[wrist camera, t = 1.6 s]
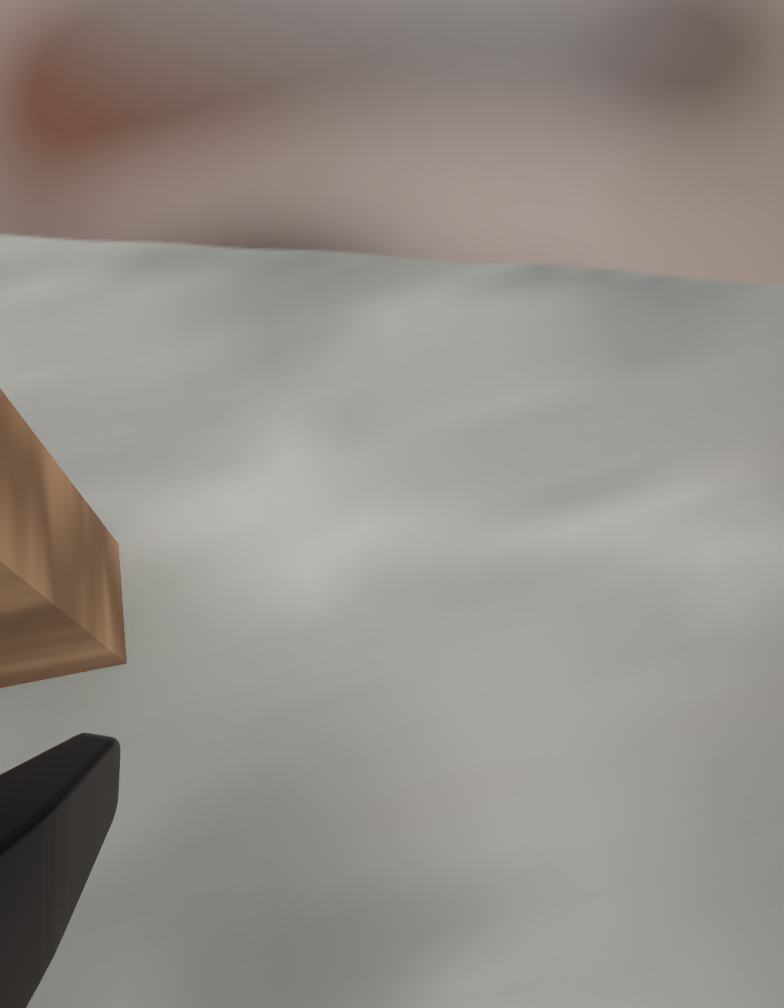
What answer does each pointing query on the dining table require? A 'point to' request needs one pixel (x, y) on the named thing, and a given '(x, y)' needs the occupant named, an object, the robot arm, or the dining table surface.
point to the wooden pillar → (52, 567)
